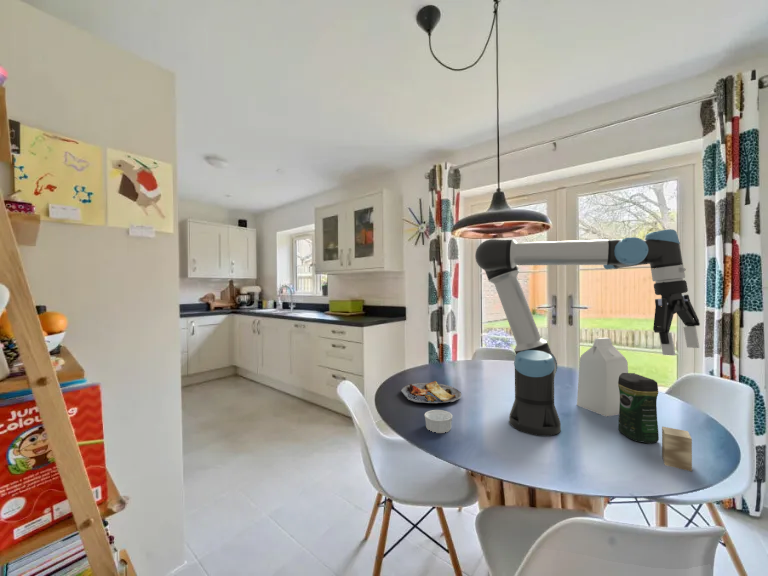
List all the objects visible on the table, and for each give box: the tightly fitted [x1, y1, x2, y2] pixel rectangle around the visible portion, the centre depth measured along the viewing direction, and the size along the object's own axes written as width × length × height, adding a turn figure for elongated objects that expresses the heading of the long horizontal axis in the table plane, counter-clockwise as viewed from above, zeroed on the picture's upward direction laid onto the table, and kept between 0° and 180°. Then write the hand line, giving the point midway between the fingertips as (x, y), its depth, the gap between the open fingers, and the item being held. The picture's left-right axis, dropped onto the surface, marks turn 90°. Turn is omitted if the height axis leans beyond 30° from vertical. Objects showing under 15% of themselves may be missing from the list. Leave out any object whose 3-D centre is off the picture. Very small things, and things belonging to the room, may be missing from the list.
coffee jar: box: [617, 372, 660, 444], centre depth 97 cm, size 10×8×19 cm
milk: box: [576, 337, 629, 417], centre depth 119 cm, size 12×12×26 cm
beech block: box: [661, 426, 693, 472], centre depth 82 cm, size 5×5×8 cm
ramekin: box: [424, 409, 453, 434], centre depth 104 cm, size 9×9×4 cm
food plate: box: [400, 380, 462, 404], centre depth 134 cm, size 25×23×4 cm
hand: (681, 351), depth 96 cm, fingers open, 13 cm apart
